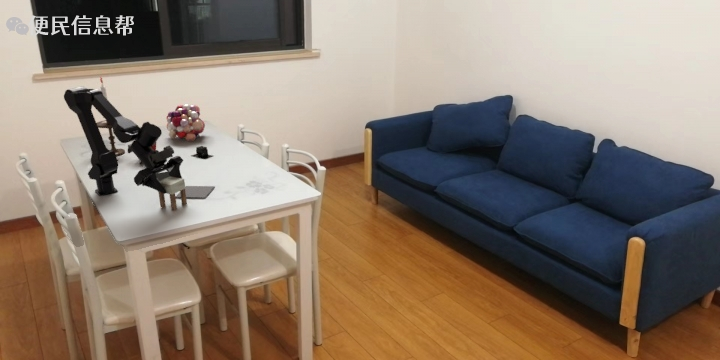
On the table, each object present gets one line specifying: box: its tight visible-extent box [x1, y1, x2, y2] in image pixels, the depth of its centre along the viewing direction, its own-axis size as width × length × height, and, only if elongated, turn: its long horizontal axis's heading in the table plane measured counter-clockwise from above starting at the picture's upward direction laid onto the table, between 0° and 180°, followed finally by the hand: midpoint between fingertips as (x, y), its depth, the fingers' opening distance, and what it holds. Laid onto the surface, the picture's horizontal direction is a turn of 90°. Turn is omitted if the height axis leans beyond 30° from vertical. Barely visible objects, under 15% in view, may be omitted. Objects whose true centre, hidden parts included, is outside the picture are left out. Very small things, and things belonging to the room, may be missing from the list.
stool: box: [157, 176, 188, 211], centre depth 195 cm, size 6×6×10 cm
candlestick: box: [96, 76, 126, 157], centre depth 249 cm, size 11×11×35 cm
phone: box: [156, 171, 170, 181], centre depth 222 cm, size 8×1×15 cm
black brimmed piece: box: [191, 145, 214, 160], centre depth 249 cm, size 12×7×5 cm, turn 58°
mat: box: [175, 185, 216, 200], centre depth 208 cm, size 11×11×1 cm
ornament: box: [166, 103, 206, 143], centre depth 274 cm, size 18×19×20 cm
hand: (174, 188), depth 194 cm, fingers open, 8 cm apart
